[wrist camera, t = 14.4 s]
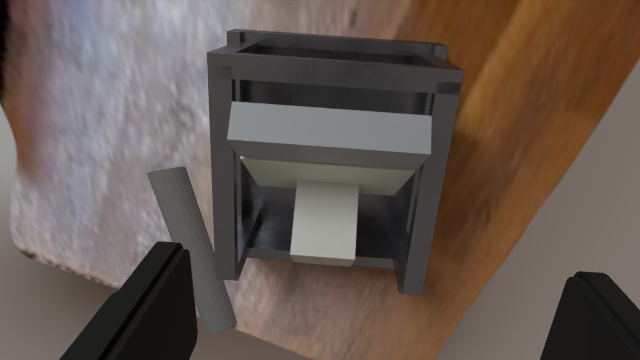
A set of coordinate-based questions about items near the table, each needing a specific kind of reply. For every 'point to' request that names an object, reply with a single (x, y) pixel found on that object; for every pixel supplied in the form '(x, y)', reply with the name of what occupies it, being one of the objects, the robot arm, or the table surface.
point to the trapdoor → (329, 145)
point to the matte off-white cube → (324, 223)
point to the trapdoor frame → (336, 93)
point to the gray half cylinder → (193, 245)
